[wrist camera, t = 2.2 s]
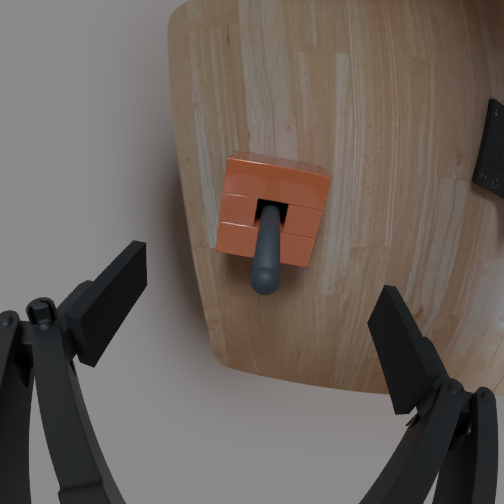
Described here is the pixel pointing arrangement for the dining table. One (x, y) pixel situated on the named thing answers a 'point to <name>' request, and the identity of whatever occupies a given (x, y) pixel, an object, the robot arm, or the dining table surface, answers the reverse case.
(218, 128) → the dining table surface
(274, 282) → the stylus
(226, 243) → the pen stand
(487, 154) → the handheld gaming console
